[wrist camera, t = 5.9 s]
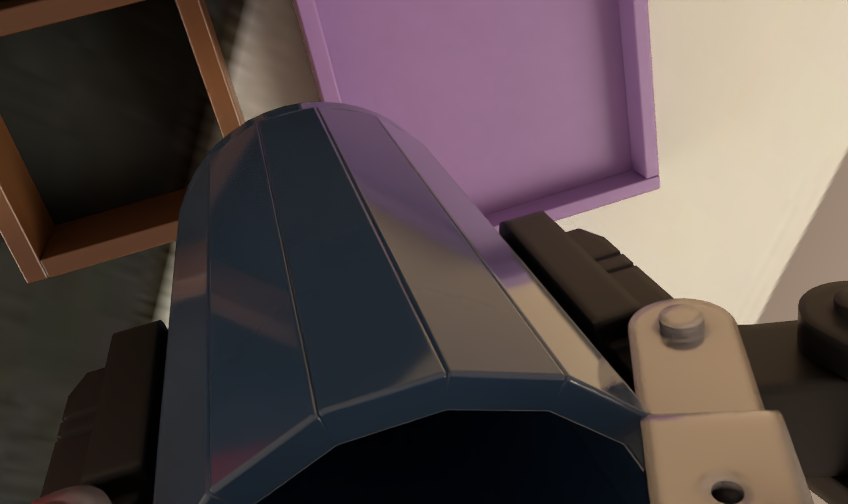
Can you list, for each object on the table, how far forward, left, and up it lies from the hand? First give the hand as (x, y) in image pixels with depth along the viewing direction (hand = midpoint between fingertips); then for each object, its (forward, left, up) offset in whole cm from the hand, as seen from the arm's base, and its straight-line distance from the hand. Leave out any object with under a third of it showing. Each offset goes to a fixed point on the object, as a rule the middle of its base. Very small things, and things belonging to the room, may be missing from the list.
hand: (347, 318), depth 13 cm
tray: (0, +8, -17) cm, 18 cm away
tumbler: (0, 0, -4) cm, 4 cm away
